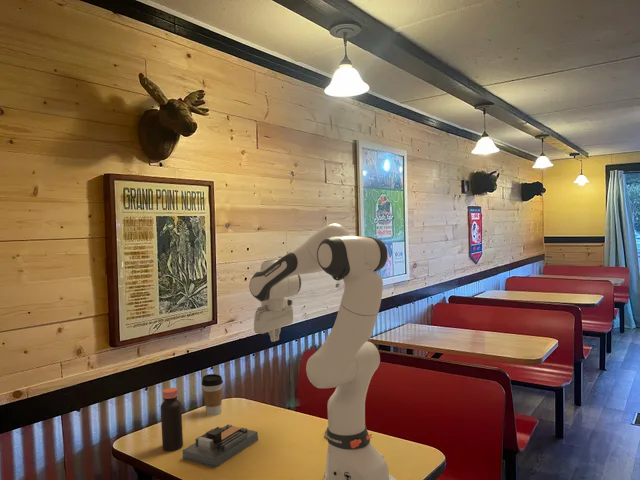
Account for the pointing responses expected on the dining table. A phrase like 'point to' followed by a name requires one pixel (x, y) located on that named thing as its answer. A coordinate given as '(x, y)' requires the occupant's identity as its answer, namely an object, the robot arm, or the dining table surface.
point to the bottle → (171, 420)
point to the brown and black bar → (221, 435)
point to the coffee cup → (212, 393)
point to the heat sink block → (219, 447)
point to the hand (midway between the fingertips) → (274, 340)
